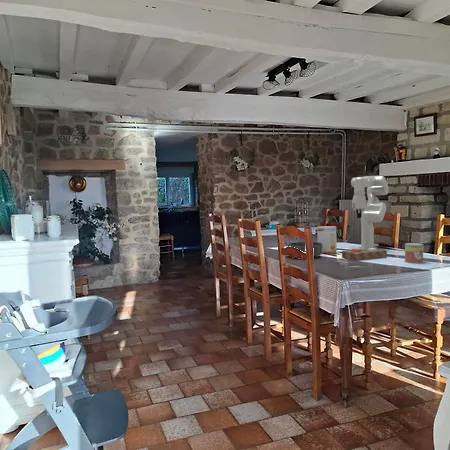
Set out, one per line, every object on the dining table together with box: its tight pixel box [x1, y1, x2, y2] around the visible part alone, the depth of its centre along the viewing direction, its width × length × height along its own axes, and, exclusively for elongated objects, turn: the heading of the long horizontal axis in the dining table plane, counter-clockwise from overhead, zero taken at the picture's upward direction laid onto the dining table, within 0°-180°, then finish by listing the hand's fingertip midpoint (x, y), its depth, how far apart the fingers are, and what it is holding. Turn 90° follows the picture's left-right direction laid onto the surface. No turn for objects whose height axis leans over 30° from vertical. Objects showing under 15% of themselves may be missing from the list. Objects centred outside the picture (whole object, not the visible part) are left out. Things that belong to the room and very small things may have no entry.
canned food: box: [404, 242, 424, 264], centre depth 279 cm, size 11×11×12 cm
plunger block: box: [341, 248, 388, 262], centre depth 299 cm, size 28×14×5 cm, turn 111°
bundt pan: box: [286, 241, 323, 258], centre depth 310 cm, size 26×26×10 cm
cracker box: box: [316, 225, 338, 255], centre depth 322 cm, size 14×6×21 cm, turn 84°
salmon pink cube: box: [351, 247, 361, 252], centre depth 296 cm, size 4×4×4 cm
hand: (359, 217), depth 317 cm, fingers closed
